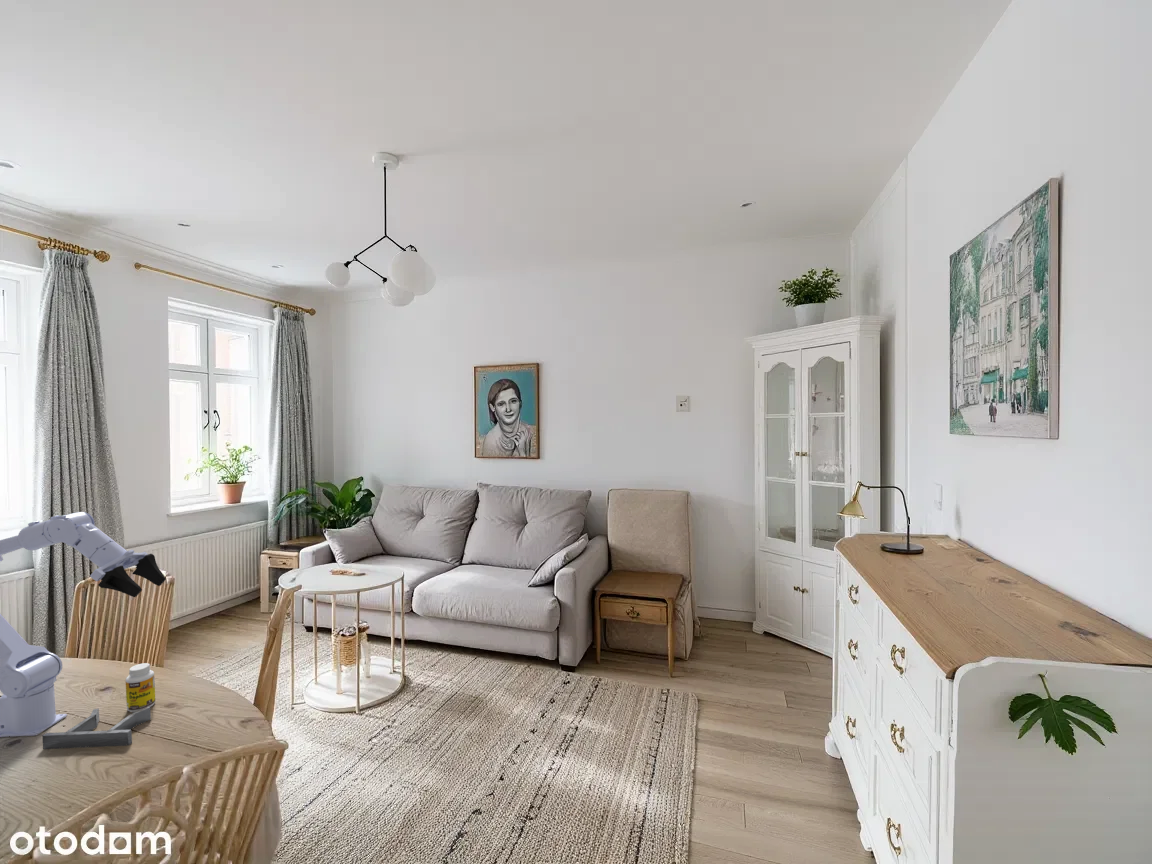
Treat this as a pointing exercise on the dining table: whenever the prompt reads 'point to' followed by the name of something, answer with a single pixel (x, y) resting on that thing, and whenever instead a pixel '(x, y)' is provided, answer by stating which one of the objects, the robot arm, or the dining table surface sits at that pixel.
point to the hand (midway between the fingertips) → (150, 587)
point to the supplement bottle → (140, 687)
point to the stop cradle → (97, 732)
